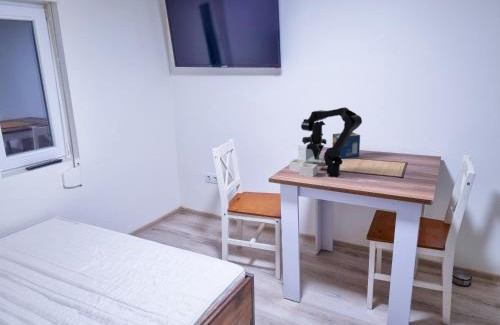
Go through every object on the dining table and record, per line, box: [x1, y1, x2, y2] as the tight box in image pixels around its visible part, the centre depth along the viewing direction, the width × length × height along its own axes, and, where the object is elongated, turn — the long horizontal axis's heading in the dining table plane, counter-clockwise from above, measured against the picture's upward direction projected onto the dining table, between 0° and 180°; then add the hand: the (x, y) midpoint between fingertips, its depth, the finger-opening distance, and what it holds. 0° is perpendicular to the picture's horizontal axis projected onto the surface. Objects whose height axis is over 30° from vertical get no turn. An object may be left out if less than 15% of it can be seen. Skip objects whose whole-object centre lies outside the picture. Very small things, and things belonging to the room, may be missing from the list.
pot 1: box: [289, 158, 307, 172], centre depth 224 cm, size 8×8×6 cm
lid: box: [307, 154, 325, 164], centre depth 221 cm, size 9×9×5 cm
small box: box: [297, 143, 315, 164], centre depth 234 cm, size 8×6×13 cm
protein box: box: [331, 131, 361, 160], centre depth 253 cm, size 10×15×16 cm
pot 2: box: [298, 163, 318, 178], centre depth 214 cm, size 8×8×6 cm
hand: (316, 158), depth 222 cm, fingers closed on lid, 3 cm apart
